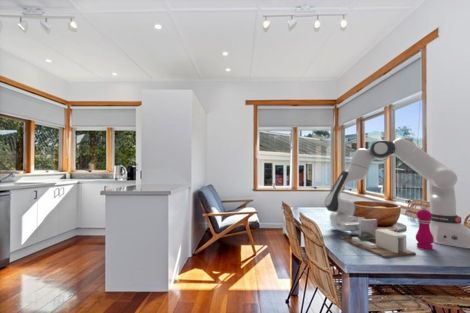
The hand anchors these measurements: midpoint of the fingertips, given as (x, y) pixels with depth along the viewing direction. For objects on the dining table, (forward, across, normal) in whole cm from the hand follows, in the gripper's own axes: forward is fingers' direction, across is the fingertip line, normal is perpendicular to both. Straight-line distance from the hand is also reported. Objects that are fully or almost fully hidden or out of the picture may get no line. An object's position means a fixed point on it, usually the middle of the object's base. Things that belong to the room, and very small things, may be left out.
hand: (367, 229), depth 142 cm
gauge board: (+9, -3, +6) cm, 11 cm away
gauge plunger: (+10, -2, +5) cm, 11 cm away
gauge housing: (+16, 0, +5) cm, 16 cm away
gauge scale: (+7, -8, +5) cm, 11 cm away
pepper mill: (+16, +19, +7) cm, 26 cm away
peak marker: (+6, -8, +4) cm, 10 cm away
